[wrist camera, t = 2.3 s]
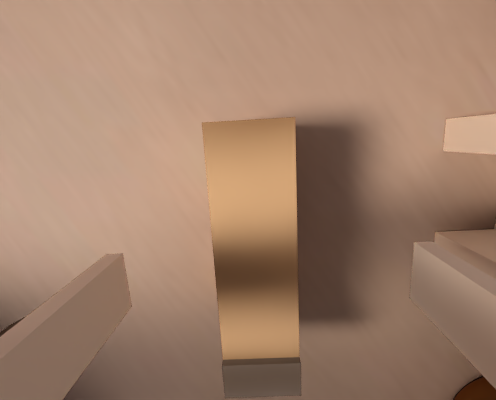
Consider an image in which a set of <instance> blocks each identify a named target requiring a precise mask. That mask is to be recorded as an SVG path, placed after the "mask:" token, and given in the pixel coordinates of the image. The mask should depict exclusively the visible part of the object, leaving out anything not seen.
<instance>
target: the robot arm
mask: <svg viewBox="0 0 496 400" xmlns="http://www.w3.org/2000/svg"><path fill="white" fill-rule="evenodd" d="M409 298H410V299H411V300H412V301H413V302H414V303H415V304H416V306H417V307H418V308H419V309H420V310H421V311H422V312H423V313H424V314H425V315H426V316H427V317H428V318H429V319H430V320H431V321H432V322H433V323H434V325H435V326H436V327H437V328H438V329H439V330H440V331H441V332H442V333H443V334H444V335H445V336H446V337H447V338H448V339H449V340H450V341H451V342H452V344H453V345H454V346H455V347H456V348H457V349H458V350H459V351H460V352H461V353H462V354H463V355H464V356H465V357H466V358H467V359H468V360H469V362H470V363H471V364H472V365H473V366H474V367H475V368H476V369H477V370H478V371H479V372H480V373H481V374H482V375H483V376H484V377H485V378H486V379H487V381H488V382H489V383H490V384H491V385H492V386H493V387H494V388H495V389H496V279H494V278H493V277H491V276H489V275H488V274H486V273H484V272H483V271H481V270H479V269H478V268H476V267H474V266H472V265H471V264H469V263H467V262H466V261H464V260H462V259H461V258H459V257H457V256H456V255H454V254H452V253H451V252H449V251H447V250H446V249H444V248H442V247H441V246H439V245H437V244H436V243H434V242H432V241H429V242H414V250H413V262H412V273H411V285H410V297H409ZM131 307H132V305H131V299H130V293H129V287H128V281H127V275H126V269H125V263H124V257H123V253H122V254H106V255H105V256H104V257H102V258H101V259H100V260H98V261H97V262H96V263H95V264H93V265H92V266H91V267H89V268H88V269H87V270H86V271H84V272H83V273H82V274H80V275H79V276H78V277H76V278H75V279H74V280H73V281H71V282H70V283H69V284H67V285H66V286H65V287H64V288H62V289H61V290H60V291H58V292H57V293H56V294H55V295H53V296H52V297H51V298H49V299H48V300H47V301H46V302H44V303H43V304H42V305H40V306H39V307H38V308H37V309H35V310H34V311H33V312H31V313H30V314H29V315H28V316H26V317H24V318H22V319H21V320H19V321H17V322H15V323H13V324H11V325H10V326H9V327H7V328H6V329H5V330H3V331H2V332H1V333H0V400H63V399H64V397H65V396H66V395H67V393H68V392H69V390H70V389H71V388H72V386H73V385H74V384H75V382H76V381H77V380H78V378H79V377H80V376H81V374H82V373H83V372H84V370H85V369H86V368H87V366H88V365H89V363H90V362H91V361H92V359H93V358H94V357H95V355H96V354H97V353H98V351H99V350H100V349H101V347H102V346H103V345H104V343H105V342H106V341H107V339H108V338H109V336H110V335H111V334H112V332H113V331H114V330H115V328H116V327H117V326H118V324H119V323H120V322H121V320H122V319H123V318H124V316H125V315H126V314H127V312H128V311H129V309H130V308H131Z"/></svg>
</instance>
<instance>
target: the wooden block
mask: <svg viewBox="0 0 496 400" xmlns="http://www.w3.org/2000/svg"><path fill="white" fill-rule="evenodd" d="M202 130H203V142H204V153H205V164H206V176H207V187H208V198H209V209H210V221H211V232H212V243H213V254H214V266H215V277H216V288H217V299H218V311H219V322H220V333H221V344H222V356H223V362H222V371H223V382H224V393H225V398H241V397H273V396H301V362H300V357H299V305H298V248H297V191H296V134H295V117H289V118H272V119H255V120H238V121H221V122H204V123H202Z"/></svg>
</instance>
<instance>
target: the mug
mask: <svg viewBox="0 0 496 400" xmlns="http://www.w3.org/2000/svg"><path fill="white" fill-rule="evenodd" d="M454 400H496V389H495V388H494V387H493V386H492V385H491V384H490V383H489V382H488V381H487V379H486V378H485V377H482V378H479V379H477V380H475V381H473V382H471V383H470V384H468V385H467V386H465V387H464V388H463V389H462V390H461V391H460V392H459V393H458V394H457V395H456V397H455V398H454Z"/></svg>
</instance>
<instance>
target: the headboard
mask: <svg viewBox="0 0 496 400" xmlns="http://www.w3.org/2000/svg"><path fill="white" fill-rule="evenodd" d="M443 151H449V152H465V153H480V154H496V114H490V115H480V116H470V117H461V118H451V119H446V126H445V136H444V146H443ZM434 243H436V244H437V245H439V246H441V247H442V248H444V249H446V250H447V251H449V252H451V253H452V254H454V255H456V256H457V257H459V258H461V259H462V260H464V261H466V262H467V263H469V264H471V265H472V266H474V267H476V268H478V269H479V270H481V271H483V272H484V273H486V274H488V275H489V276H491V277H493V278H494V279H496V221H495V228H494V229H486V230H465V231H444V232H435V238H434Z"/></svg>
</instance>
